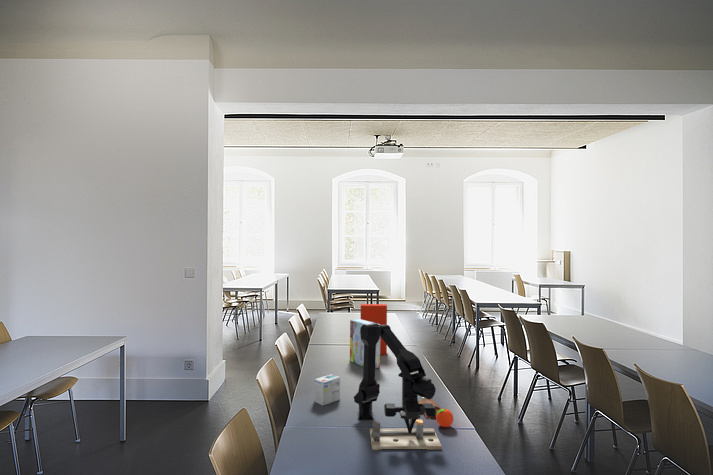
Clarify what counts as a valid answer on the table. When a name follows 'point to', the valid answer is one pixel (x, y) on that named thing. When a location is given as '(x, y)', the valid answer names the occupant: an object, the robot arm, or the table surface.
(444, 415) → the clementine
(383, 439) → the board
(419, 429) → the slider
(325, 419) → the table surface
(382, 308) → the file binder
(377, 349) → the snack box
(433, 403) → the sunglasses case
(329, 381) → the light bulb box
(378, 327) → the robot arm
